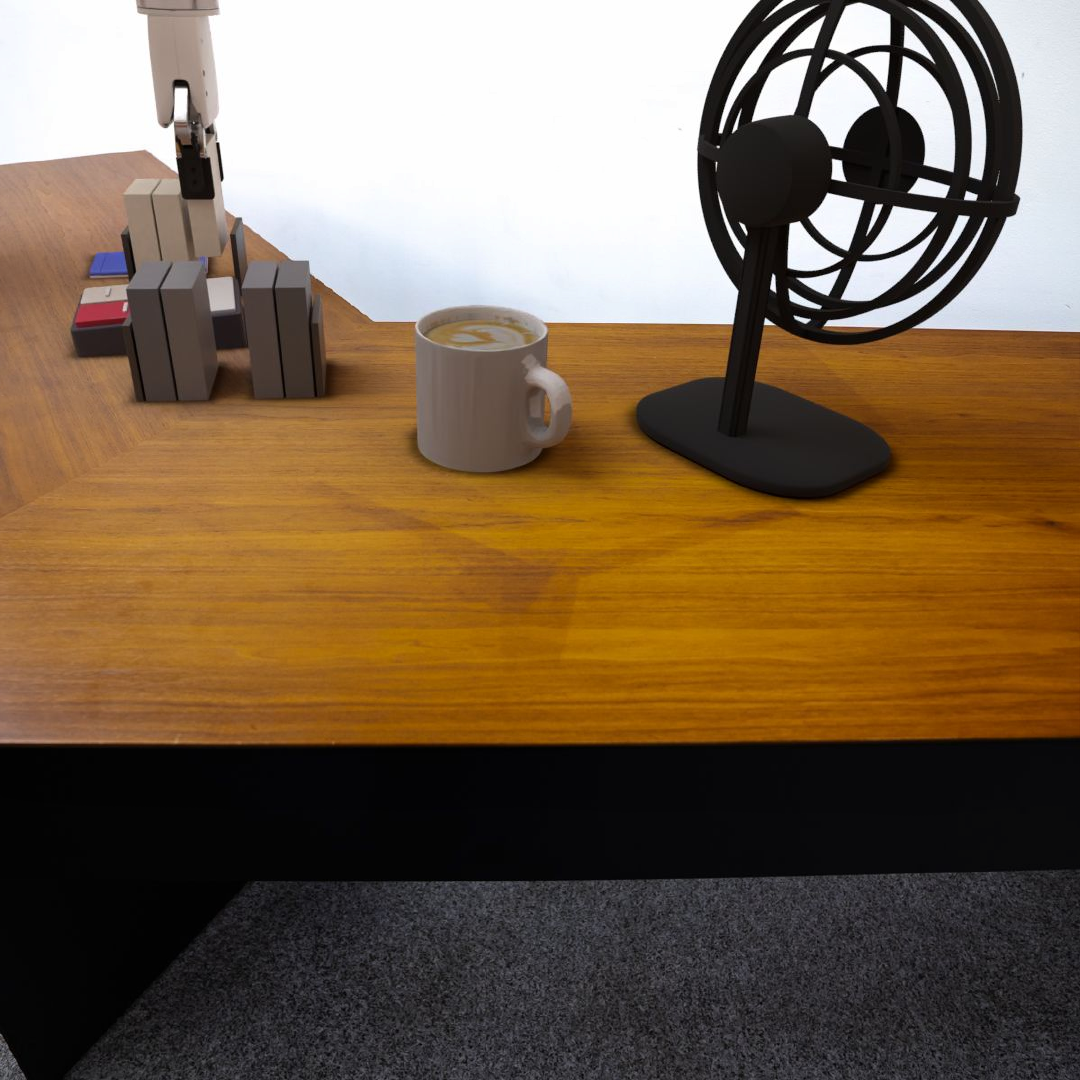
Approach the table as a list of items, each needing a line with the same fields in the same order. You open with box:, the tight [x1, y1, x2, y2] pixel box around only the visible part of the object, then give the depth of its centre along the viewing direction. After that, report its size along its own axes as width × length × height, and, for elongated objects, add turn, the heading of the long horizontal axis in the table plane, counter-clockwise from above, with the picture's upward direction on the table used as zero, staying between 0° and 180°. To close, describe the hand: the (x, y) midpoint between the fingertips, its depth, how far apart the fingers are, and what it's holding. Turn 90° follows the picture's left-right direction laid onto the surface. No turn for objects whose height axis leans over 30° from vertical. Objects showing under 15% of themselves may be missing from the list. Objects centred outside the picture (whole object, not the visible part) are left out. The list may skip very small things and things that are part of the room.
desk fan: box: [635, 0, 1024, 498], centre depth 72 cm, size 27×18×35 cm, turn 40°
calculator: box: [69, 276, 248, 358], centre depth 95 cm, size 11×4×15 cm
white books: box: [120, 178, 249, 297], centre depth 105 cm, size 11×7×11 cm, turn 99°
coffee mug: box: [414, 304, 573, 473], centre depth 75 cm, size 13×10×10 cm
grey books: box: [122, 260, 327, 403], centre depth 84 cm, size 15×8×10 cm, turn 99°
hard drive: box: [88, 251, 209, 279], centre depth 113 cm, size 2×8×12 cm
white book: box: [187, 134, 229, 258], centre depth 103 cm, size 3×7×11 cm, turn 9°
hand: (203, 188), depth 103 cm, fingers closed on white book, 7 cm apart
